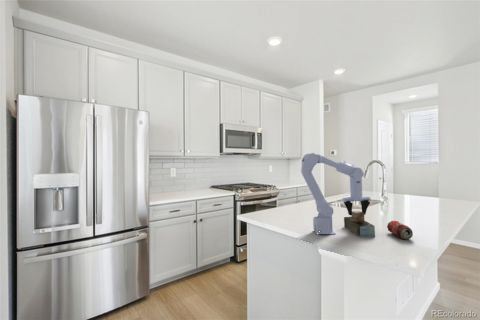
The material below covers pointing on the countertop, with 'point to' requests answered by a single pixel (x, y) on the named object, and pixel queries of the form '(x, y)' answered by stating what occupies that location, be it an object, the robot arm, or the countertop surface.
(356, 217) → the walnut block
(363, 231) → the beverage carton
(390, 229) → the beverage can
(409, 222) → the countertop surface
